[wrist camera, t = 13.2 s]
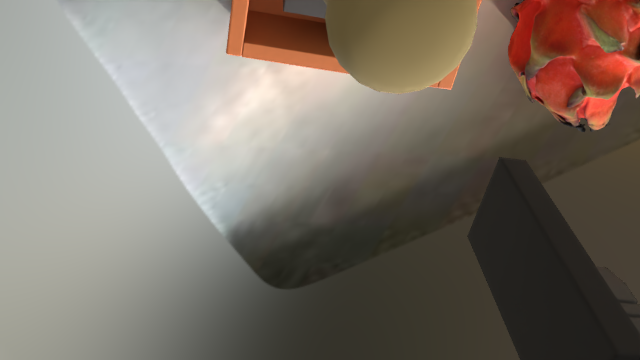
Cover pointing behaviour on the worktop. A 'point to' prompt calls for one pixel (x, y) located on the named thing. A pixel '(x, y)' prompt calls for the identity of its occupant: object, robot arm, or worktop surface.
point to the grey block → (305, 7)
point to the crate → (287, 37)
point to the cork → (400, 40)
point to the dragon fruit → (577, 56)
